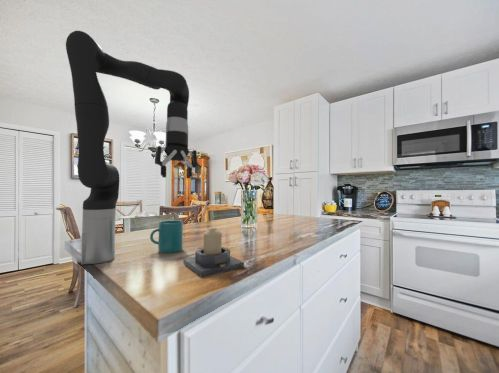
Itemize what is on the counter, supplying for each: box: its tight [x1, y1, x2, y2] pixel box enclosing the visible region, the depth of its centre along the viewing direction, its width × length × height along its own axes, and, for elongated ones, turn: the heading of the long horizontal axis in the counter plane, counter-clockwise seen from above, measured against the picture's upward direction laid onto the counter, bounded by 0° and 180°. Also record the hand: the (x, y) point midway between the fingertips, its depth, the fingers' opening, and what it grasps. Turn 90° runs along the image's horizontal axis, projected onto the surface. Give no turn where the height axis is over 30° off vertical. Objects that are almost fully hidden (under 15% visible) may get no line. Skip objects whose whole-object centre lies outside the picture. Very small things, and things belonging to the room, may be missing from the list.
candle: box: [203, 227, 222, 254], centre depth 69 cm, size 6×6×10 cm
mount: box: [182, 246, 245, 278], centre depth 69 cm, size 14×14×4 cm
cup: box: [149, 220, 184, 254], centre depth 86 cm, size 9×12×11 cm
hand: (176, 177), depth 78 cm, fingers open, 8 cm apart
